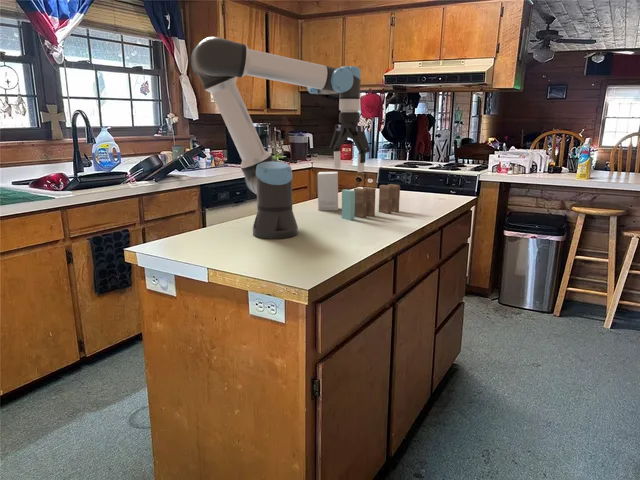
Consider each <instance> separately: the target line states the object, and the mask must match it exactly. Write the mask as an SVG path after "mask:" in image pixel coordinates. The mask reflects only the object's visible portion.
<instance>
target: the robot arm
mask: <svg viewBox="0 0 640 480" xmlns="http://www.w3.org/2000/svg"><path fill="white" fill-rule="evenodd" d="M190 63H191V68H192V70H193V72H194V74H195V75H196V76H197V77H198V78H199V80H200V82H201V85H202V86H203V88H204V91H206V92H208V93H210V94H211V95H212V98H213V100H214V101H215V104H216V107H217V108H218V111H219V113H220V115H221V117H222V119H223V121H224V124H225V127H227V130H228V133H229V134H230V137H231V139H232V141H233V144H234V145H235V147H236V150H237V152H238V154H239V158H240V159H241V162H240V166H239V167H240V169H241V172H242V173H243V176H244V182H245V185H246V187H247V188H248V189H249V191H250V192H252V193H253V194H255V195H256V204H257V205H256V207H257V208H256V210H257V211H256V214H255V218H254V222H253V224H252V225H253V226H252V235H253V236H254V237H257V238H261V239H268V240H269V239H270V240H276V239H279V240H280V239H287V238H292V237H294V236H297V235H298V234H299V227H298V224H297V220H296V218H295V215H294V212H293V177H294V176H293V171H292V170H293V169H292V167H291V165H289V163H286V162H281V161H275V159H274V158H273V155H272V154H271V152H269V151H266V149H265V147H264V145H263V144H262V141H261V138H260V136H259V134H258V132H257V129H256V128H255V125H254V122H253V120H252V118H251V115H250V113H249V111H248V109H247V106H246V104H245V102H244V100H243V97H242V95H241V93H240V91H239V88H238V85H237V81H238V78H241V79H242V78H244V77H245V76H249V77H254V78H260V79H265V80H270V81H275V82H281V83H286V84H291V85H295V86H301V87H304V88H305V87H306V89H307V92H308V93H309V94H312V95H338V96H339V97H338V98H339V101H338V102H339V103H338V110H339V111H340V112H339V113H338V122H339V123H340V124H335V125H334V130H333V131H334V132H333V135H332V138H331V141H330V144H329V146H328V147H329V150H332V155H333V156H332V158H333V169H335V170H338V169H339V170H340V169H341V154H342V153H341V148H342V146H343V144H344V142H345V141H346V139H350V140H352V141H353V143H354V145H355V147H356V150H357V151H358V153H357V170H356V171H357V173H364V172H365V163H366V158H367V157H366V154H368V153H370V152H371V148H370V146H369V141H368V138H367V135H366V132H365V131H366V130H365V125H359V123H360V122H361V121H360V120H361V118H360V117H361V113H360V112H359V111H361V83H362V76H361V75H362V74H361V69H360V67H358V66H353V65H344V66H341V67H333V66H327V65H324V64H319V63H314V62H311V61H306V60H301V59H296V58H292V57H287V56H282V55H278V54H274V53H269V52H263V51H260V50H256V49H250V48H249V46H248V45H247V44H245V43H241V42H237V41H233V40H230V39H226V38H222V37H219V36H208V37H206V38H204V39H202V40H201V41H199V43H198V44H197V45H195V47H194V48H193V50H192V52H191V56H190Z"/></svg>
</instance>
